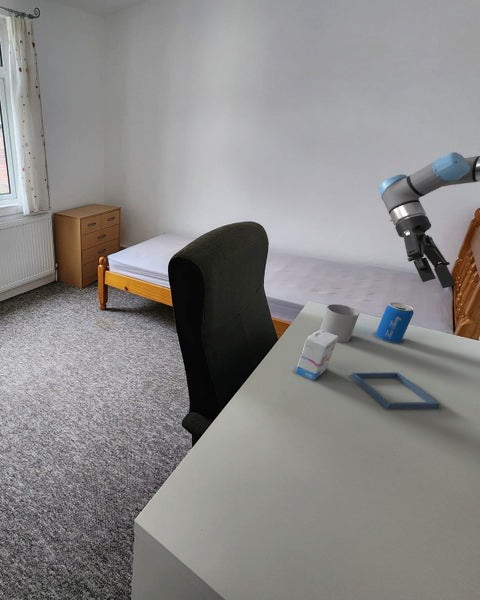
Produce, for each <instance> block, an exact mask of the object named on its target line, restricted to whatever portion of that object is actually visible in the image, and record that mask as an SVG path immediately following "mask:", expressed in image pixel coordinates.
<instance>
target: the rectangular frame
mask: <svg viewBox="0 0 480 600" xmlns="http://www.w3.org/2000/svg"><path fill="white" fill-rule="evenodd" d="M350 378H351V379H352V380H353V381H354V382H355V383H356V384H358V386H360V387H361V388H362V389H363V390H365V391H366V392H367V393H368V394H369V395H370V396H371V397H372V398H374V399H375V400H376V401H377V402H378V403H379V404H380V405H382V407H384V408H385V409H386V410H395V409H396V410H399V409H401V410H402V409H403V410H406V409H407V410H410V409H418V410H419V409H439V407H440V405H441V403H440V402H439V401H438V400H436V399H435V398H434V397H432V396H431V395H430V394H428V393H427V392H426V391H424V390H423V389H421V388H420V387H419V386H417V385H415V384H414V383H413V381H411V380H409V379H408V378H407V377H405V376H404V375H402V374H401V373H400V372H399V371H398V372H396V371H395V372H392V371H391V372H390V371H389V372H388V371H386V372H385V371H383V372H351V375H350ZM363 379H396V380H397V381H399V383H401V384H402V385H404V386H405V387H407V388H408V389H409V390H411V391H412V392H413V393H414V394H416V395H417V396H419V397H420V398H421V399H422V400H424V401H404V402H403V401H401V402H400V401H399V402H397V401H395V402H394V401H393V402H390V401H388V400H387V399H386V398H385V397H383V395H381V394H380V393H379V392H378V391H377V390H375V389H374V388H373V387H372V386H371V385H369V384H368V383H367V382H366V381H365V380H363Z"/></svg>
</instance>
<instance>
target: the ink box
mask: <svg viewBox="0 0 480 600" xmlns="http://www.w3.org/2000/svg"><path fill="white" fill-rule="evenodd" d="M337 340H338V336H336V335H333V334H331V333H328V332H326V331H323V330H320V329H317V330H316V331H314V332H313V333H312V334H310V335H309V336H307V338H306V339H305V342H304V345H303V349H302V351H301V354H300V357H299V360H298V363H297V365H296V370H295V372H294V373H295V374H297V375H299V376H302V377H304V378H306V379H308V380H312V381H315V380H316V379H317V378H318V377H320V376H321V375H322V374H323V373H324V372H325V371H326V370H327V369H328V365H329V363H330V360H331V358H332V356H333V352H334V350H335V347H336V345H337Z"/></svg>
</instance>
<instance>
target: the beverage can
mask: <svg viewBox="0 0 480 600" xmlns="http://www.w3.org/2000/svg"><path fill="white" fill-rule="evenodd" d="M414 314H415V313H414V307H413V306H411V305H409V304H406V303H402V302H390V303H389V304H388V305H387V306H386V307H385V309H384V312H383V314H382V316H381V319H380V321H379V324H378V327H377V329H376V332H375V336H376V337H377V338H378V339H379V340H382V341H384V342H388V343H395V344H396V343H397V344H398V343H401V342H402V340H403V338H404V336H405V334H406V331H407V329H408V327H409V325H410V323H411V320H412V318H413V316H414Z"/></svg>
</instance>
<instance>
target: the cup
mask: <svg viewBox="0 0 480 600" xmlns="http://www.w3.org/2000/svg"><path fill="white" fill-rule="evenodd" d="M359 316H360V312H359V310H357V309H356V308H354V307H351V306H348V305H343V304H337V303H336V304H335V303H333V304H328V305H327V306H326V308H325V312H324V314H323V318H322V321H321V324H320V327H319V330H323V331H326V332H328V333H331V334H333V335H336V336H338V340H337V342H338V343H347V342H350V341H351V338H352V335H353V332H354V329H355V327H356V324H357V321H358V318H359ZM337 342H336V343H337Z"/></svg>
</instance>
